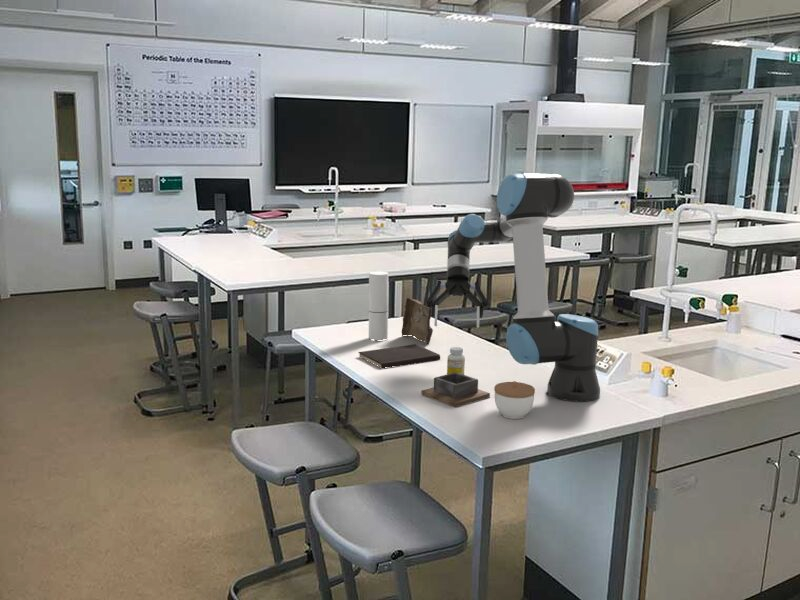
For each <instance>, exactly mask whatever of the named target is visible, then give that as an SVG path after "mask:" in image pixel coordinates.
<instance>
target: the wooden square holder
mask: <svg viewBox="0 0 800 600" xmlns="http://www.w3.org/2000/svg"><path fill="white" fill-rule="evenodd" d="M420 394H422V396H425V397H427V398H430V399H432V400H435V401H437V402H441V403H443V404H445V405H449V406H451V407H454V408H458V407H462V406H465V405H468V404H473V403H475V402H479V401H481V400H485V399H488V398H491V397H490V396H491V392H487V391H484V390H482V389H479V379H478V378H475V377H472V376H469V375H465V374H464V375H463V374H460V373H457V372H455V373H451V374H447V373H446V374H444V375H440V376H435V377H433V386H432V387H430V388H426V389H422V390H420Z"/></svg>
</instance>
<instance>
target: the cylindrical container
mask: <svg viewBox="0 0 800 600" xmlns="http://www.w3.org/2000/svg"><path fill="white" fill-rule="evenodd" d="M388 321H389V272H386V271H371V272H369V273H368V339H369V338H370V339H374V340H383V339H387V338H388V335H389V332H388V330H389V322H388ZM388 339H389V338H388ZM388 339H387V340H388Z"/></svg>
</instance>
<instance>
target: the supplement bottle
mask: <svg viewBox="0 0 800 600" xmlns="http://www.w3.org/2000/svg"><path fill="white" fill-rule="evenodd" d="M449 353H450V354H449V355H448V356H447V360H446V361H447V363H446V365H447V366H446V367H447V368H446V372H447V373H446V375H447V374H451V373H455V372H457V373H460V374H463V375H465V361H466V358H465V355H463V353H464V348H463V347H458V346H456V347H455V346H452V347H450V348H449Z"/></svg>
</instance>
